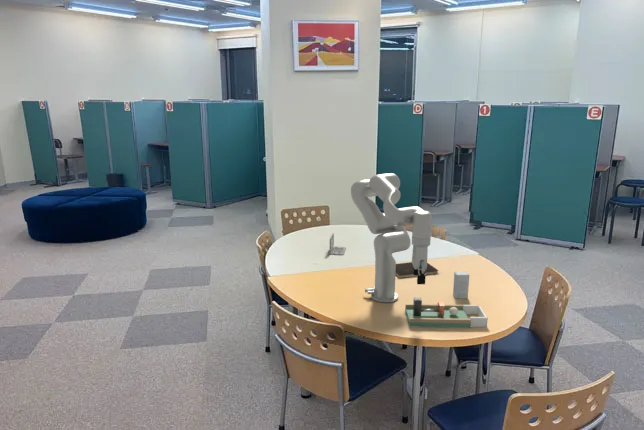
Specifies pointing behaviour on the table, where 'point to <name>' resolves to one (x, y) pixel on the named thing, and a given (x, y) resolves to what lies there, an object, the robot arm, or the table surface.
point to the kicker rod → (418, 305)
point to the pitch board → (437, 317)
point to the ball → (453, 311)
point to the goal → (476, 321)
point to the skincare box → (461, 285)
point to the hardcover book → (412, 270)
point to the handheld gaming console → (334, 249)
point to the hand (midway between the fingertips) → (419, 279)
